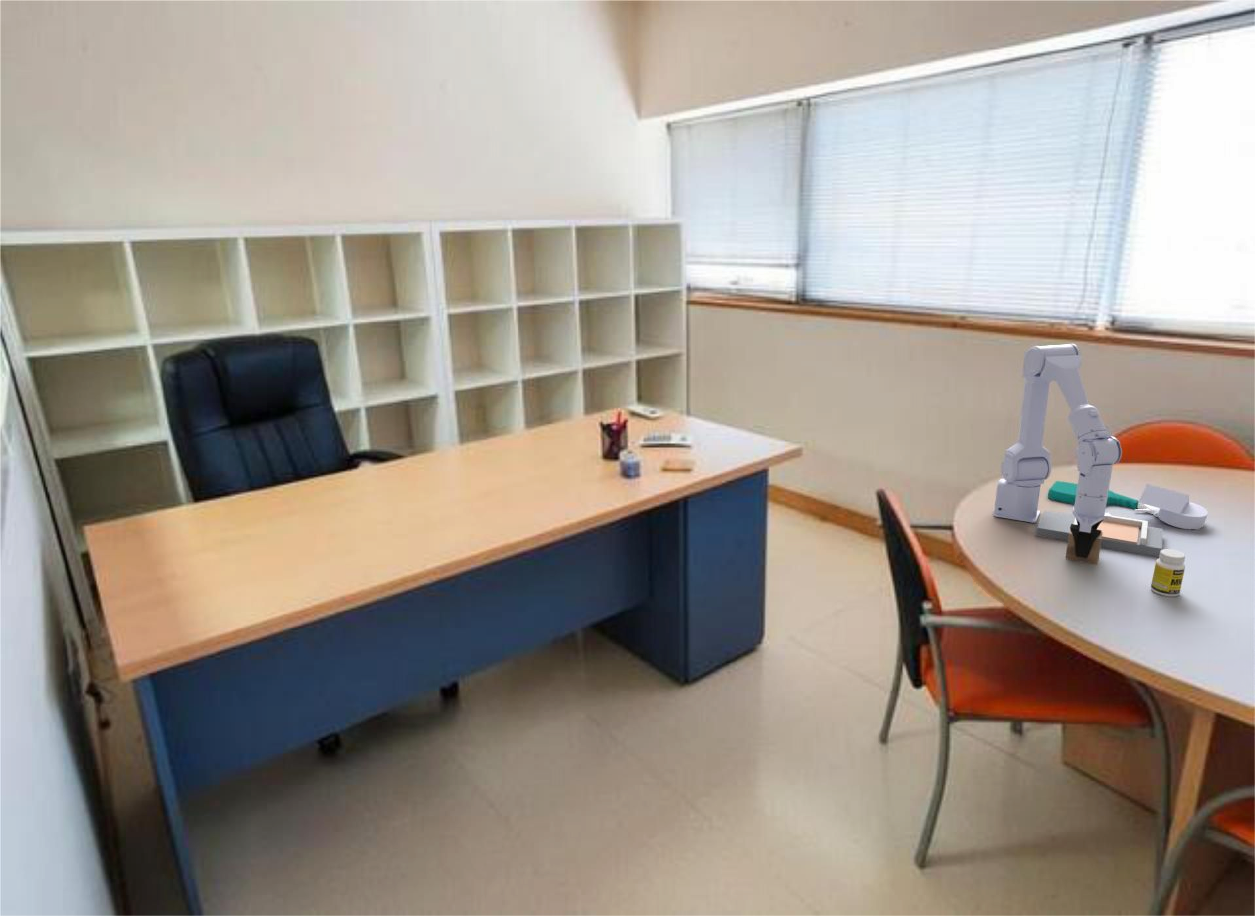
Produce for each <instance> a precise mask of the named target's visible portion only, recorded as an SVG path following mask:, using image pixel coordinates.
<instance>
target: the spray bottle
mask: <svg viewBox="0 0 1255 916" xmlns="http://www.w3.org/2000/svg"><path fill="white" fill-rule="evenodd" d="M1077 486H1078V483H1075V482H1068V481H1067V482H1066V481H1059V480H1057V481H1055V482H1054V483H1053V484H1052V485H1051V487H1050V488H1049V489H1048V493H1047V498H1048V499H1049V500H1053V501H1055V502H1061V503H1065V502H1066V503H1065V504H1069V505H1075V499H1076V492H1077ZM1110 504H1112V505H1113V506H1114V505H1115V506H1117V505H1118V506H1117V507H1123V506H1124V508H1130V509H1132V508H1133V510H1134V512H1141V513H1142V512H1143V513H1148V514H1150V515H1151V514H1153V515H1152V516H1153V517H1155V518H1159V517H1158V513H1159V510H1160V508H1157V507H1153V506H1150V505H1146V504H1143V503H1139V499H1138V500H1137V499H1135V498H1131V497H1129V496H1125V495H1122V494H1119V493H1115V492H1114V491H1112V490H1109V492H1108V498H1107V504H1106V506H1110ZM1136 508H1138V509H1136Z"/></svg>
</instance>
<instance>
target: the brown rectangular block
mask: <svg viewBox="0 0 1255 916" xmlns="http://www.w3.org/2000/svg"><path fill="white" fill-rule="evenodd" d="M1102 534H1103V532H1101V534H1100V535H1099V537H1098V538H1097V539H1096V540H1095V542H1094V543H1093V545H1092V548H1091V551H1090V553H1089V555H1088V557H1087V558H1082V557H1076V554H1075V542H1074V537H1073V535H1072V532H1071V530H1070V532H1069V537H1068V541H1067V544H1066V553H1065V558H1066V559H1067V560H1072V561H1076V562H1081V561H1082V563H1087V564H1093V565H1098V564H1099V563H1098V562H1099V557H1100V552H1101V548H1102V547H1101V541H1102Z"/></svg>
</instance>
